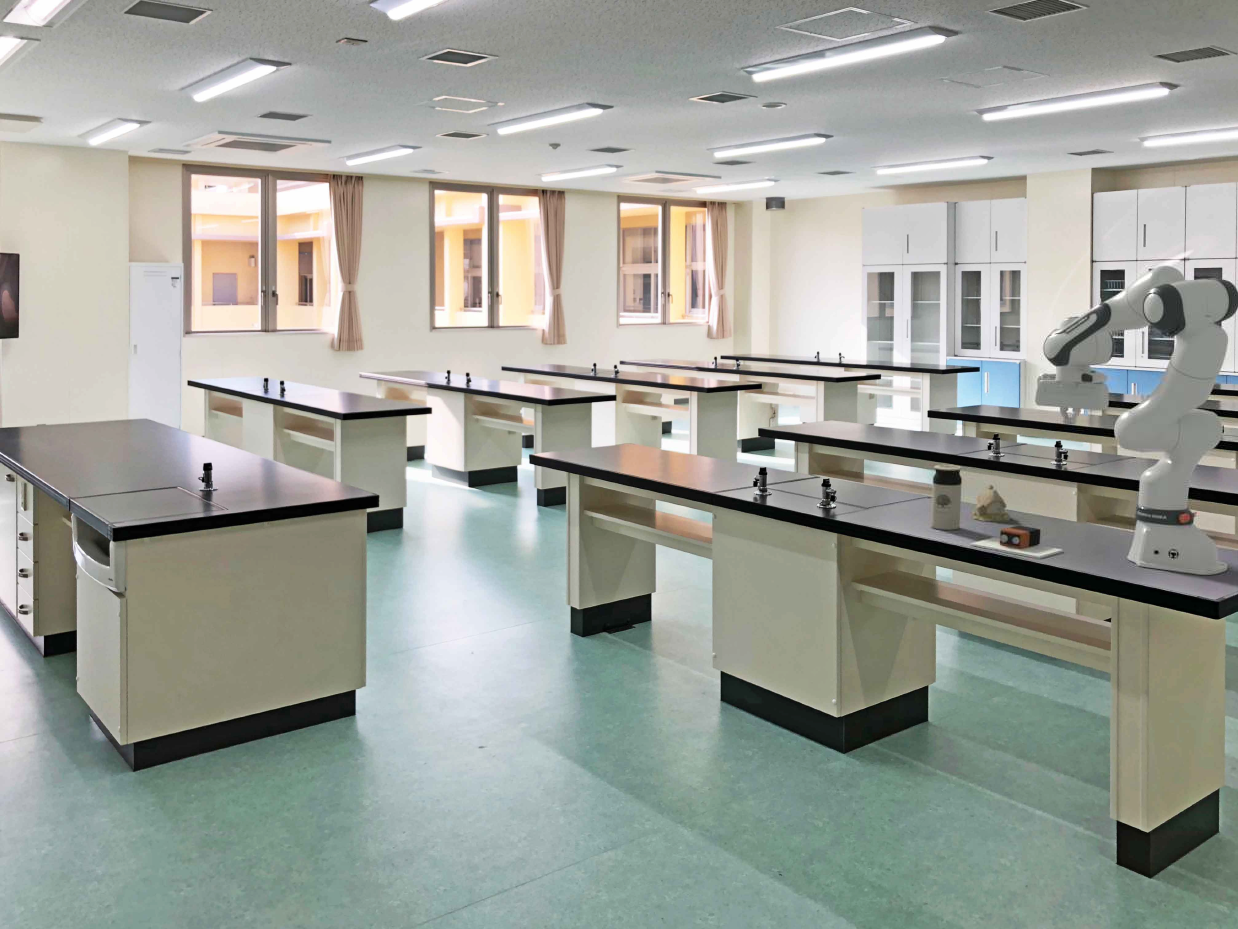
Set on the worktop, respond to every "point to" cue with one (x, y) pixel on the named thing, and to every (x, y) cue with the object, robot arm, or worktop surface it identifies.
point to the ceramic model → (990, 506)
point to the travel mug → (946, 497)
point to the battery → (1020, 537)
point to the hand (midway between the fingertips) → (1069, 423)
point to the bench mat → (1029, 551)
